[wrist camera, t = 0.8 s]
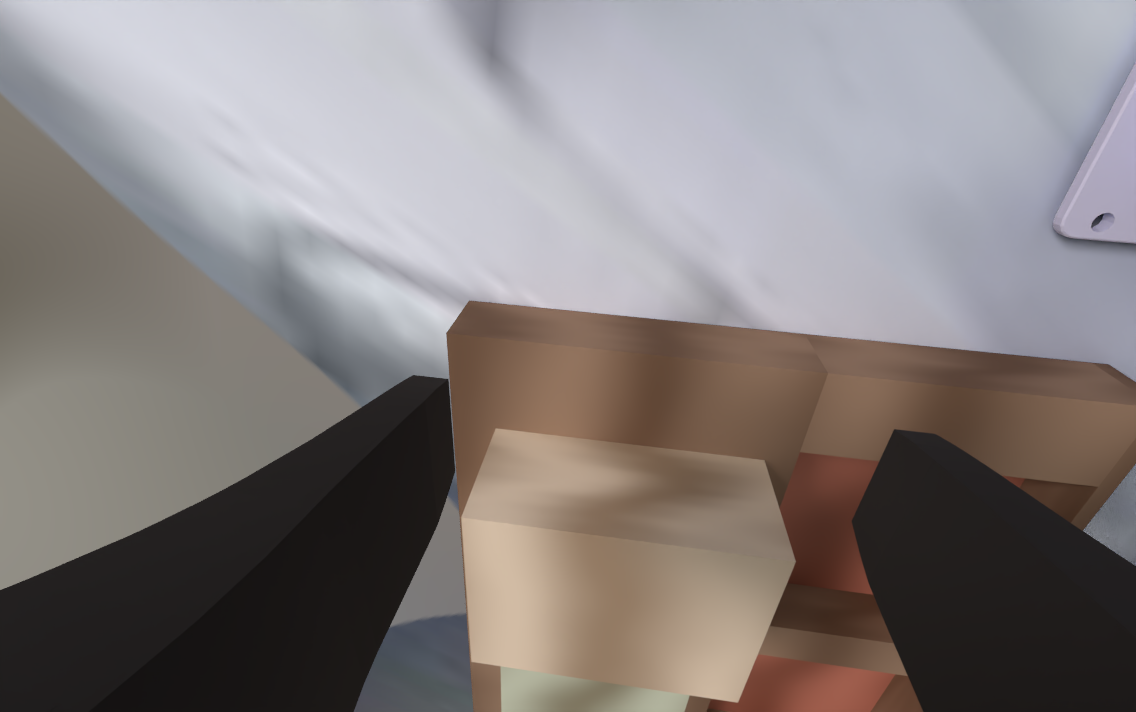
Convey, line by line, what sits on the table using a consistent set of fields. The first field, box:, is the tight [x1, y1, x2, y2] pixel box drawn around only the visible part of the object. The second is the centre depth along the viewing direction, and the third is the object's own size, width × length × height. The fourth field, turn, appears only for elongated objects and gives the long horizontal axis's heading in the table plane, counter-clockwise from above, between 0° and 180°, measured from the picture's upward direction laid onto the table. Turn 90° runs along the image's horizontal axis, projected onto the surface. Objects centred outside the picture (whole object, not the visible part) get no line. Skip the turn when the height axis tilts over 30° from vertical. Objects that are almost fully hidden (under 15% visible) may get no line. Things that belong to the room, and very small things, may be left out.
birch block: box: [461, 428, 796, 703], centre depth 17 cm, size 9×7×4 cm
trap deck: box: [446, 301, 1136, 712], centre depth 23 cm, size 21×26×2 cm
